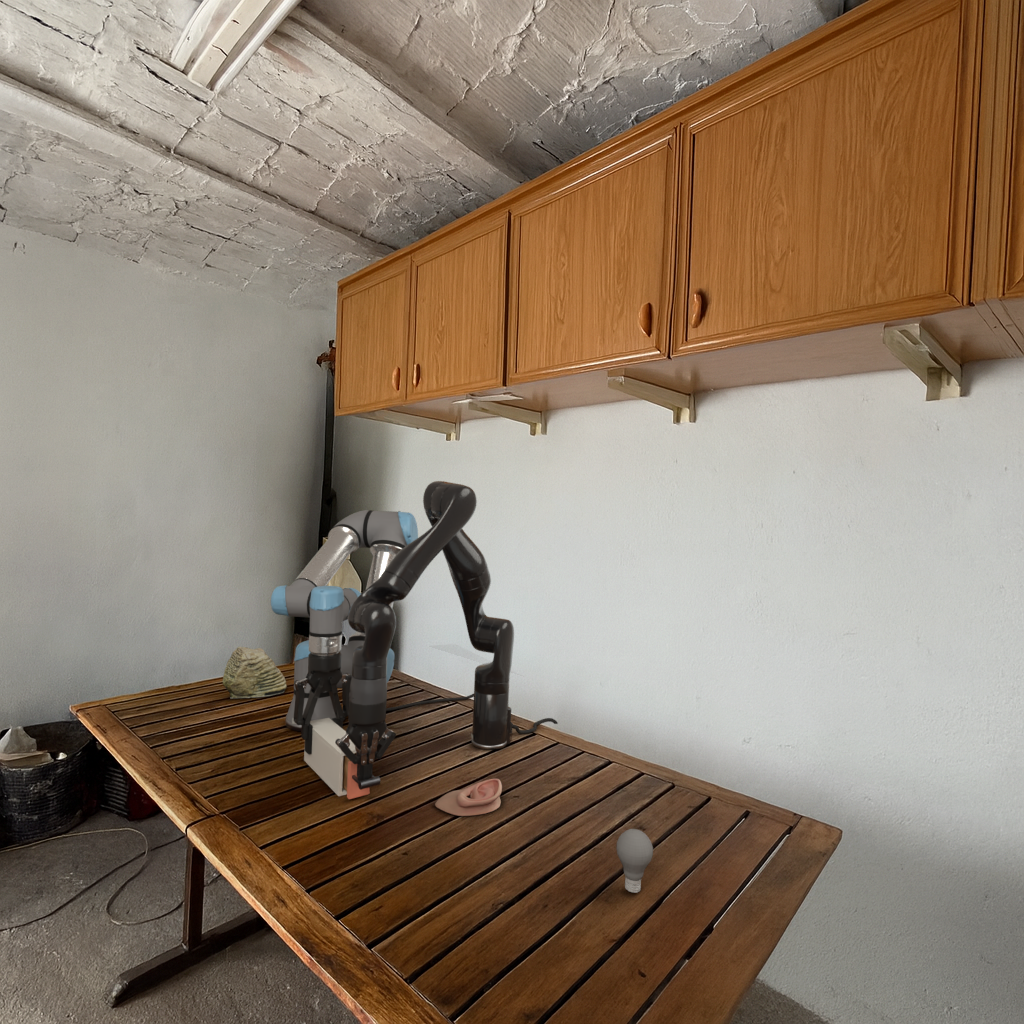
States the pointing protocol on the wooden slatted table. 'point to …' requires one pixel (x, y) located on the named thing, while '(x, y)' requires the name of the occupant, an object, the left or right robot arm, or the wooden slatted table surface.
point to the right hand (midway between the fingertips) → (364, 780)
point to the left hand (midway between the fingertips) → (321, 749)
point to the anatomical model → (472, 799)
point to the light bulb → (634, 857)
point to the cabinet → (327, 753)
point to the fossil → (252, 674)
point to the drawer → (356, 780)
